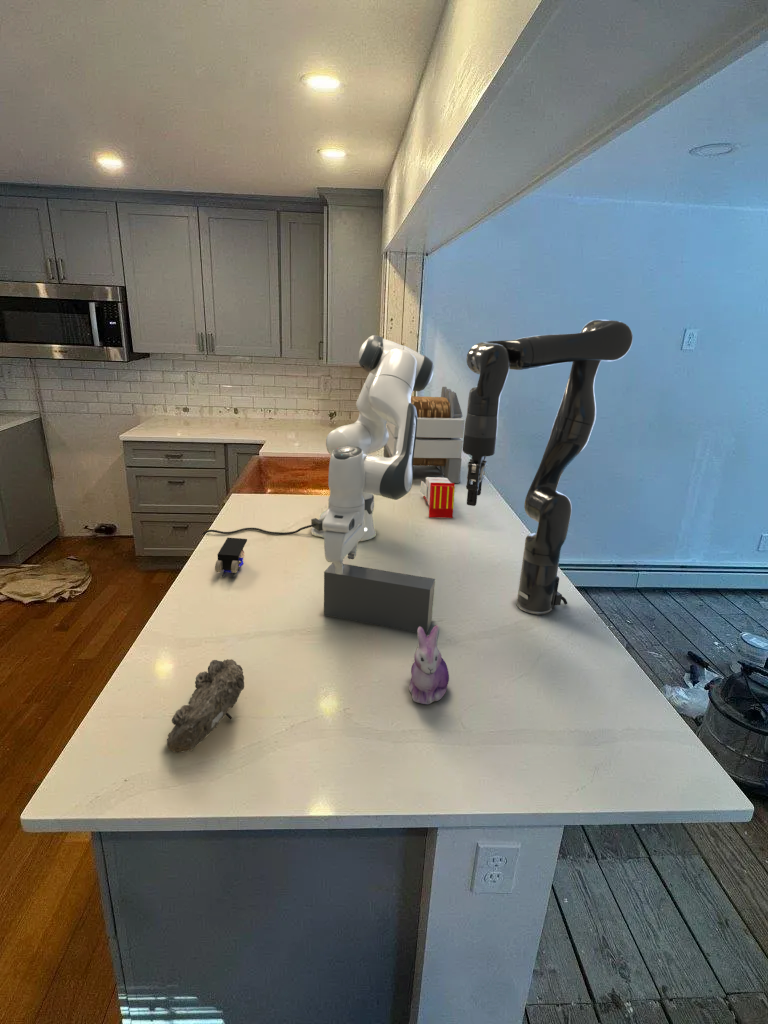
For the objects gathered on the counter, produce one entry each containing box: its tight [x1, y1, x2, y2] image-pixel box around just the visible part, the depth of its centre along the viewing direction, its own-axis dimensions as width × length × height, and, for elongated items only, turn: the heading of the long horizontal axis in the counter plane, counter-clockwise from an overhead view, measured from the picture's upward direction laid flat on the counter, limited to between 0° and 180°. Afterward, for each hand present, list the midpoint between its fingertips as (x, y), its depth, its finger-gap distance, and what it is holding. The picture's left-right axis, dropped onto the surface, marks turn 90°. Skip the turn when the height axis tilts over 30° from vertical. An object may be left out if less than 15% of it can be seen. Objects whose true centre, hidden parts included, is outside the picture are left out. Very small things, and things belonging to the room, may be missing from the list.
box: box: [323, 563, 436, 635], centre depth 143 cm, size 27×6×12 cm, turn 74°
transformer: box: [383, 386, 466, 484], centre depth 268 cm, size 34×33×41 cm
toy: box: [419, 476, 456, 519], centre depth 228 cm, size 12×13×30 cm
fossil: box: [166, 658, 245, 754], centre depth 106 cm, size 22×10×15 cm
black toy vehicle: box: [214, 537, 248, 578], centre depth 166 cm, size 7×8×15 cm
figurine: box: [408, 624, 450, 705], centre depth 115 cm, size 9×10×15 cm
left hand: (345, 565), depth 143 cm, fingers open, 8 cm apart
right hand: (473, 499), depth 136 cm, fingers open, 8 cm apart
